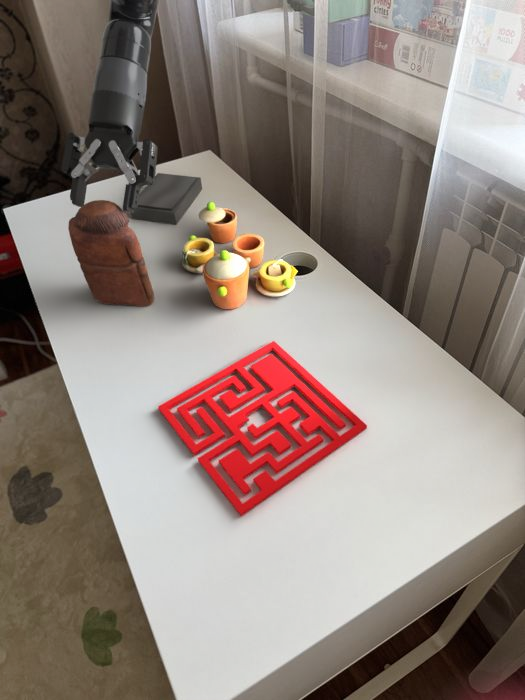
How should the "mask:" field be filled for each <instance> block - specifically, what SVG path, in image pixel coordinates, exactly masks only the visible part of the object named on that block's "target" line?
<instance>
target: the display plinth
mask: <svg viewBox="0 0 525 700" xmlns="http://www.w3.org/2000/svg"><path fill="white" fill-rule="evenodd" d="M202 190H203V184H202V178H201V177H200V176H190V175H180V174H171V173H161V172H158V173H156V174H155V182H154V184H153V185H151V186H150V185H146V186H144V188H143V190H142V191H140V195H139V201H138V207H137V209H136V210H135V209H134V212H133V213H129V215H130V218H131V219H132V220H137V221H145V222H152V223H161V224H169V225H175V226H176V225H178V223H179V222H180V221H181V219H182V218H183V216H184V215H185V214H186V212H187V211H188V210H189V209H190V207H191V205H192V204H193V203H194V202H195V200H196V199H197V198H198V196H199V194H200V193H201V191H202Z"/></svg>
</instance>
